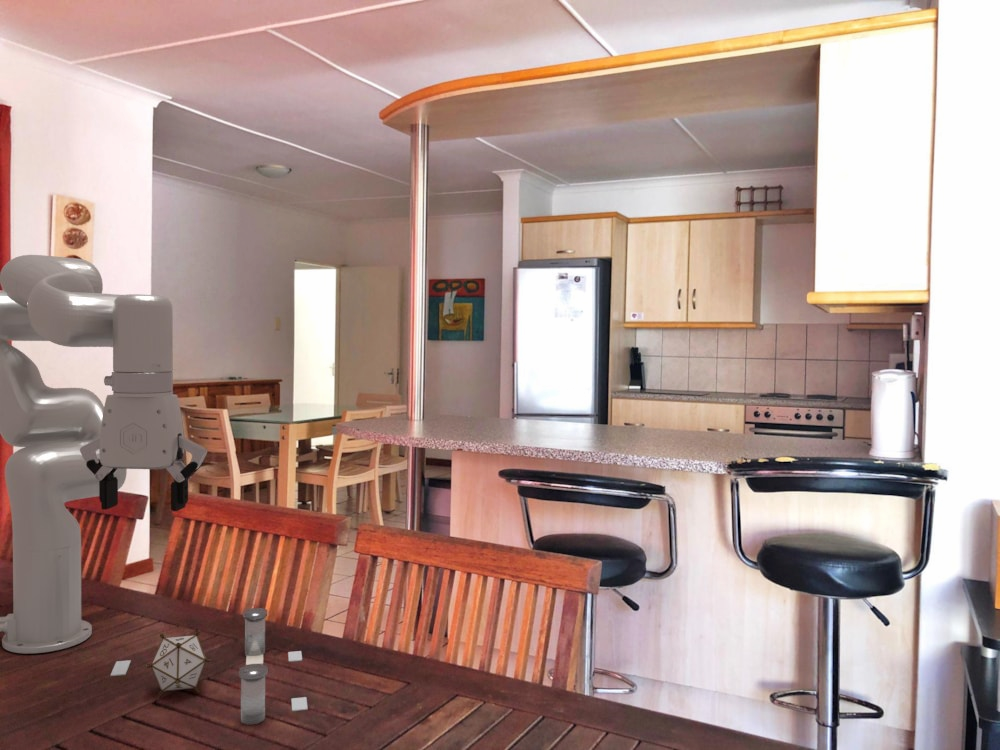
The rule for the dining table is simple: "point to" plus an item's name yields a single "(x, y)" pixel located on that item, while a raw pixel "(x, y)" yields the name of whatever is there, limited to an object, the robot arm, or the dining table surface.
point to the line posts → (253, 668)
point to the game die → (178, 663)
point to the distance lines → (297, 703)
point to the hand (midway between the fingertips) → (144, 508)
